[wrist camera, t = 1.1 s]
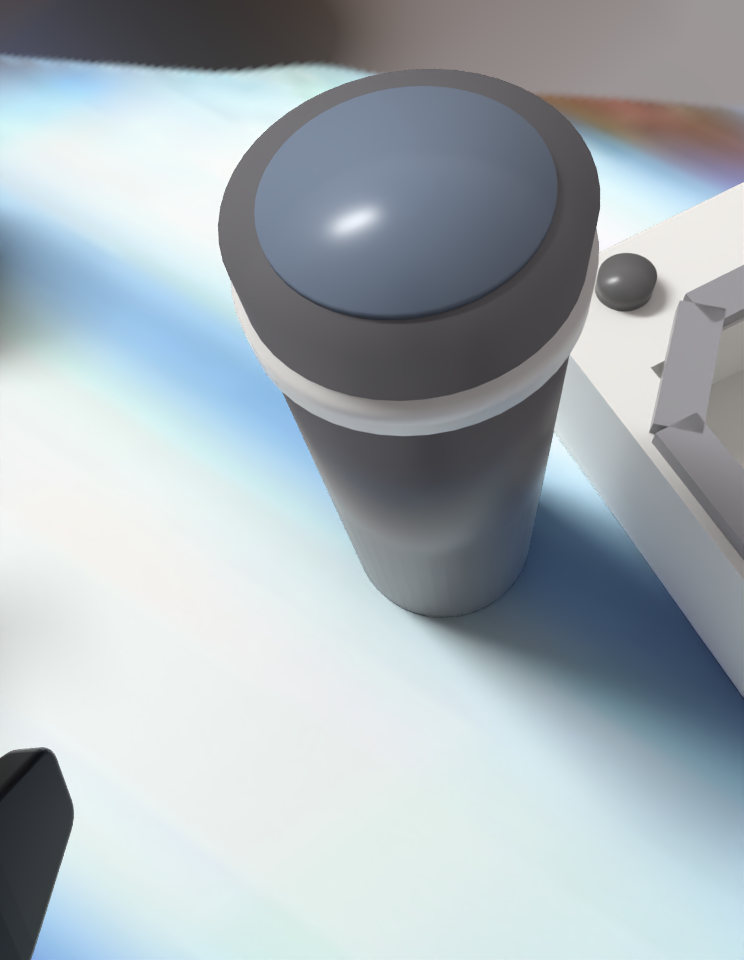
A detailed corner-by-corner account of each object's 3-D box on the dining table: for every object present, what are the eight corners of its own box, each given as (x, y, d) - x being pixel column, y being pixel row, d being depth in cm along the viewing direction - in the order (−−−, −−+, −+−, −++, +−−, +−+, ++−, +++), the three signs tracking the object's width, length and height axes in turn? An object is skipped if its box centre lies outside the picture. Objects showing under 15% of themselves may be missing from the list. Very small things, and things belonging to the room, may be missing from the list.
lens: (572, 567, 22) (704, 235, 9) (402, 656, 22) (297, 434, 9) (477, 422, 25) (479, 6, 12) (323, 499, 24) (154, 152, 11)
